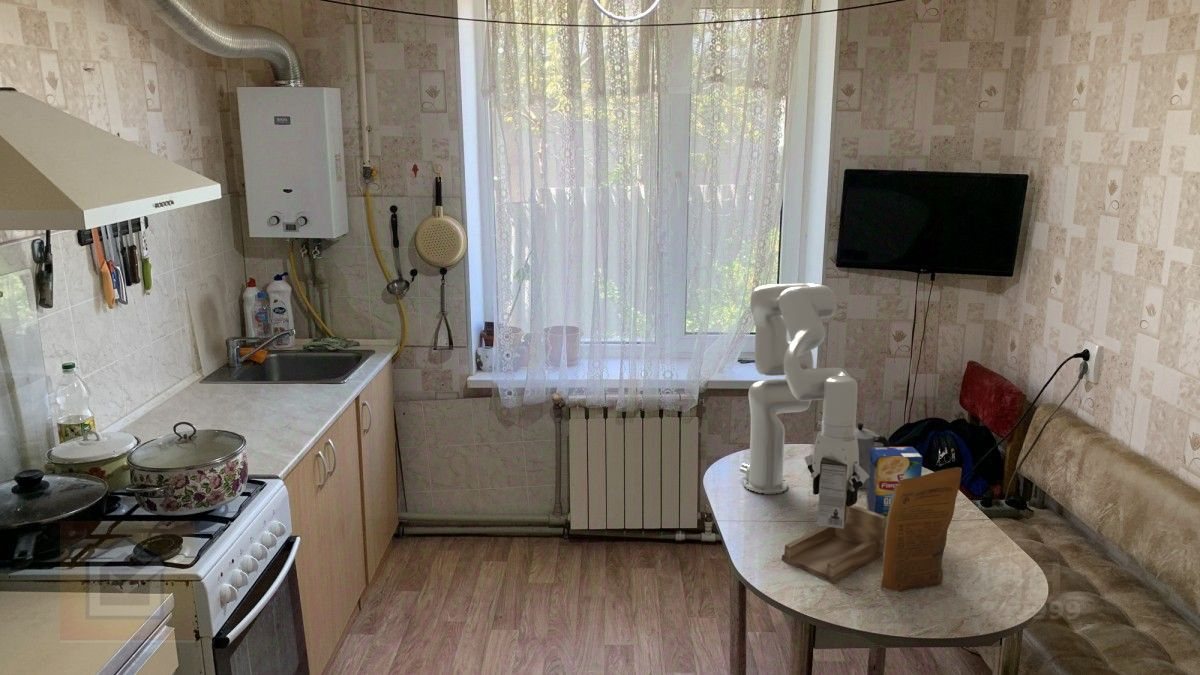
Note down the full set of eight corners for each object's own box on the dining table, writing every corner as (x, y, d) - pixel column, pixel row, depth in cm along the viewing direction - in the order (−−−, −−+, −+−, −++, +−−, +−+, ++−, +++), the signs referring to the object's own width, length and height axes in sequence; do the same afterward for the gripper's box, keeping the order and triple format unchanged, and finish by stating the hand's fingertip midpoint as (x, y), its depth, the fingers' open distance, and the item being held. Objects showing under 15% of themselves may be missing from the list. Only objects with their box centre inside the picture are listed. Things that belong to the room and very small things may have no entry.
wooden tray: (781, 559, 215) (783, 520, 213) (830, 534, 228) (832, 497, 226) (834, 583, 204) (837, 542, 202) (883, 555, 217) (886, 516, 215)
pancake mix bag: (960, 586, 203) (972, 470, 196) (886, 598, 198) (896, 480, 191) (941, 572, 209) (952, 459, 202) (869, 583, 204) (878, 469, 197)
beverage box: (916, 538, 226) (923, 456, 220) (872, 539, 225) (878, 457, 220) (906, 526, 232) (913, 446, 227) (864, 527, 232) (869, 447, 227)
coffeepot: (828, 481, 261) (831, 423, 256) (841, 471, 268) (845, 414, 264) (879, 495, 251) (884, 434, 247) (892, 484, 259) (896, 425, 254)
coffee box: (822, 510, 218) (825, 447, 214) (849, 513, 216) (853, 451, 212) (816, 525, 210) (819, 461, 206) (844, 529, 208) (848, 464, 204)
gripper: (797, 423, 212) (794, 492, 216) (861, 442, 199) (857, 515, 203) (816, 417, 216) (813, 484, 220) (880, 434, 204) (875, 505, 208)
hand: (834, 498), depth 212 cm, fingers closed on coffee box, 8 cm apart
